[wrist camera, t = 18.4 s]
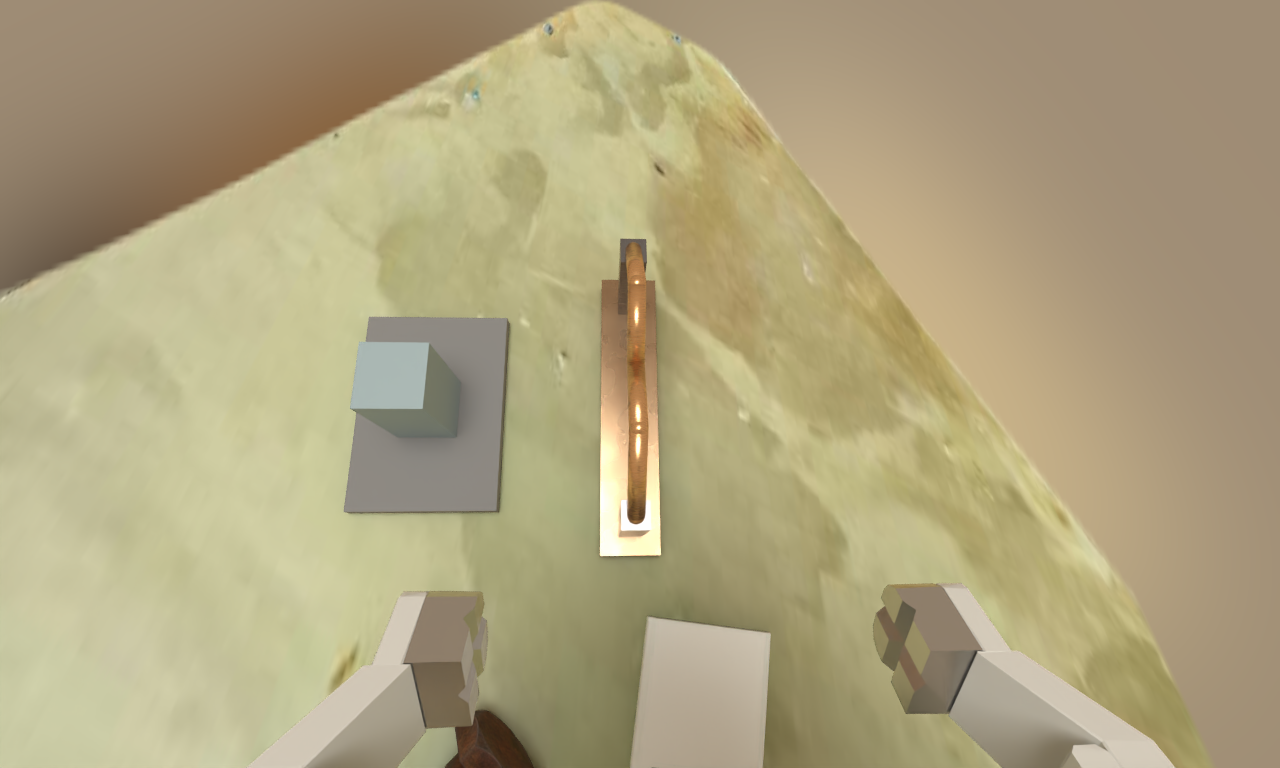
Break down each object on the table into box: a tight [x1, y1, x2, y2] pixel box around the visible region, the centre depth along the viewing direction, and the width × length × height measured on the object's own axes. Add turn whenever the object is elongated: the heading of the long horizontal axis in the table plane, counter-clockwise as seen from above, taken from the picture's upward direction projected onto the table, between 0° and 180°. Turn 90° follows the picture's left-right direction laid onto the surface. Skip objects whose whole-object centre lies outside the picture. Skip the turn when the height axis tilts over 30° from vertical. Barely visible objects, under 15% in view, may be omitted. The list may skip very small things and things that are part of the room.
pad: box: [344, 317, 509, 513], centre depth 42 cm, size 14×10×1 cm
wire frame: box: [600, 239, 661, 556], centre depth 37 cm, size 20×4×14 cm, turn 1°
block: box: [350, 342, 461, 438], centre depth 38 cm, size 4×4×8 cm
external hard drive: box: [629, 616, 771, 768], centre depth 38 cm, size 2×8×12 cm
